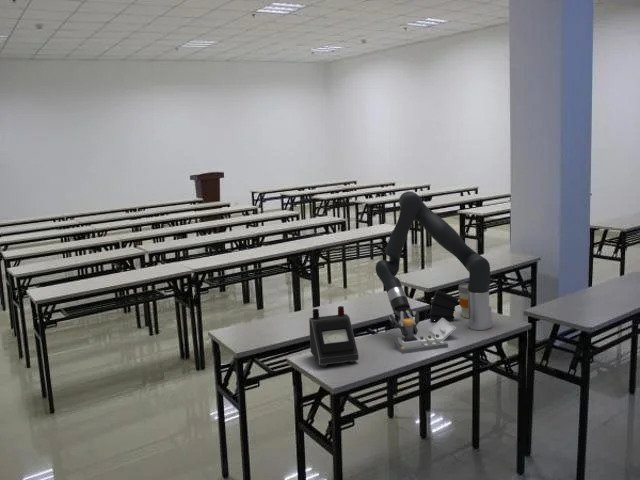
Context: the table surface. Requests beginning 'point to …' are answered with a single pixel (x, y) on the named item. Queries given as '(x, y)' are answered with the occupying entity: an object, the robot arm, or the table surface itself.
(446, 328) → the light switch
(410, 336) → the lockout plug
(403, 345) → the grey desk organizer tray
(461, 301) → the reusable coffee cup
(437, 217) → the robot arm
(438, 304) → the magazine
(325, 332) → the voltmeter
